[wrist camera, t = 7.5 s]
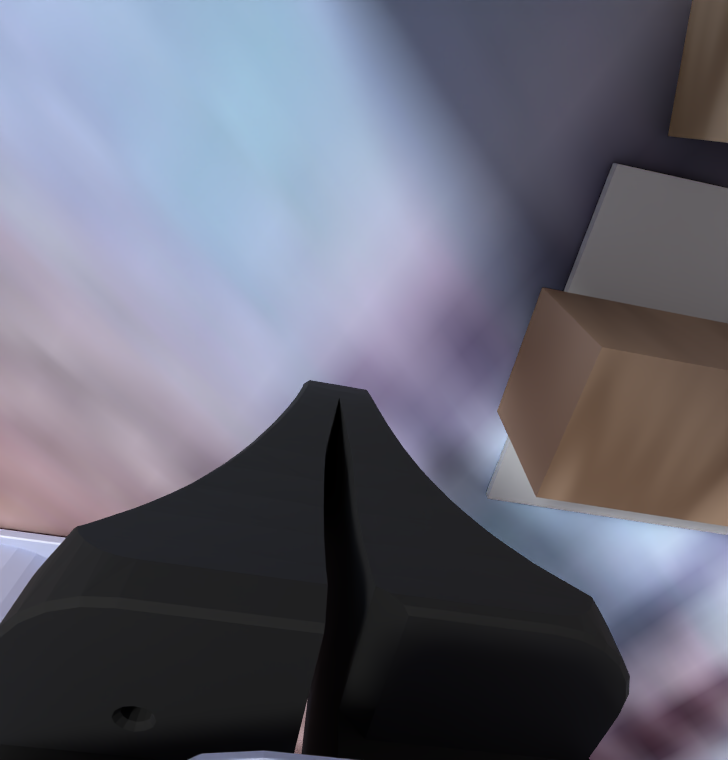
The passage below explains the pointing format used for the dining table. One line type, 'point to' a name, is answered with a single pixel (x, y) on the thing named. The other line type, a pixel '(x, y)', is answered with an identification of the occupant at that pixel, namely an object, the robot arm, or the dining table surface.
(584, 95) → the dining table surface
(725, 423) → the walnut pillar
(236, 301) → the dining table surface
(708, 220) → the mat
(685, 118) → the oak cube
